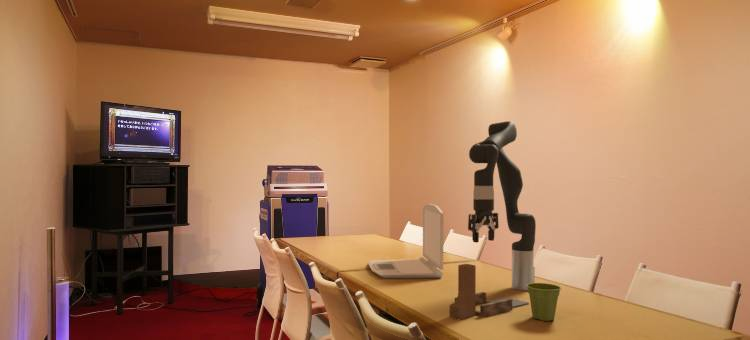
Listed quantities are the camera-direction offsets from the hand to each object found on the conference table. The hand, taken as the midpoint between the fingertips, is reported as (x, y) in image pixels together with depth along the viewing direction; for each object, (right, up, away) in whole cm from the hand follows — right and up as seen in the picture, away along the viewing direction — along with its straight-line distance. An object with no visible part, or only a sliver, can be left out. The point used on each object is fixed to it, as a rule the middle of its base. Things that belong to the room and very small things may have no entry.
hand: (483, 241), depth 185 cm
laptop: (-27, -26, +71) cm, 80 cm away
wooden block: (-10, -25, -10) cm, 29 cm away
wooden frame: (0, -25, 0) cm, 25 cm away
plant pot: (+19, -26, -11) cm, 34 cm away
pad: (+12, -25, +9) cm, 29 cm away
